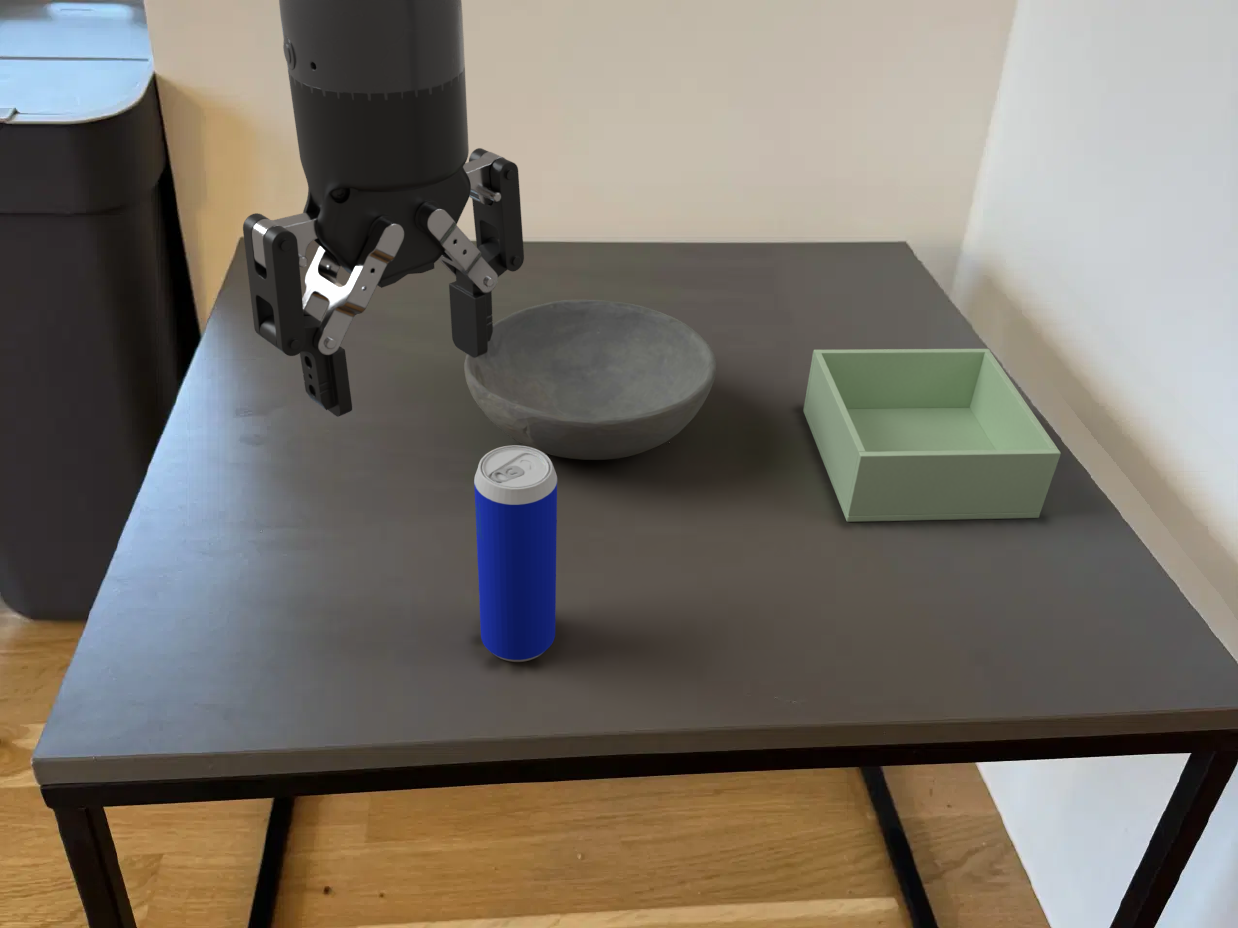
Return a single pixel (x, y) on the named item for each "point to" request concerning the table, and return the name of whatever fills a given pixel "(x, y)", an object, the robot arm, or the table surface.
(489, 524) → the beverage can
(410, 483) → the table surface
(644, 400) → the bowl
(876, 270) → the table surface
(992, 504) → the open box
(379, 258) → the robot arm
